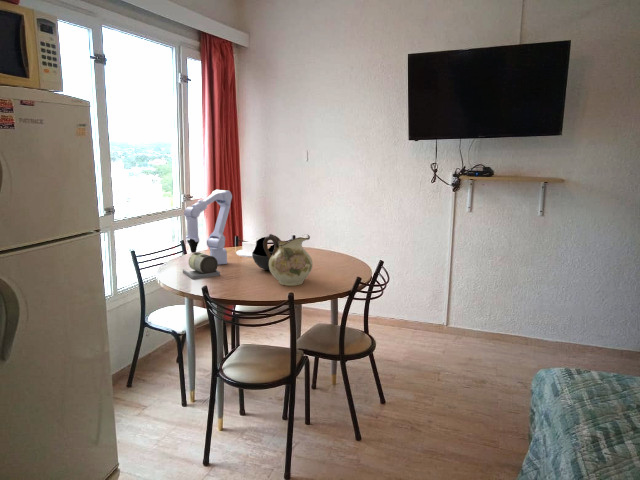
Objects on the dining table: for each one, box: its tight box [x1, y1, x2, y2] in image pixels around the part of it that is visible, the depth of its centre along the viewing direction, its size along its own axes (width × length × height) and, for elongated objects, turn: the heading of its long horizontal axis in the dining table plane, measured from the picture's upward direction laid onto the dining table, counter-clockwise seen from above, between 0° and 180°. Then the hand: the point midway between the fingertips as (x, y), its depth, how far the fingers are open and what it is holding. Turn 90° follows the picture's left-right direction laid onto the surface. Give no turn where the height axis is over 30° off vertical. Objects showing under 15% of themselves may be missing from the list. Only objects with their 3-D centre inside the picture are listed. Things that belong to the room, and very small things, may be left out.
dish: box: [236, 236, 263, 258], centre depth 300 cm, size 25×25×11 cm
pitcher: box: [263, 233, 313, 287], centre depth 232 cm, size 22×24×25 cm
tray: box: [182, 268, 221, 280], centre depth 249 cm, size 15×16×2 cm
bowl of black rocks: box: [252, 236, 279, 271], centre depth 257 cm, size 20×20×19 cm
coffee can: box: [188, 251, 219, 274], centre depth 250 cm, size 10×10×14 cm
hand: (193, 252), depth 256 cm, fingers closed
